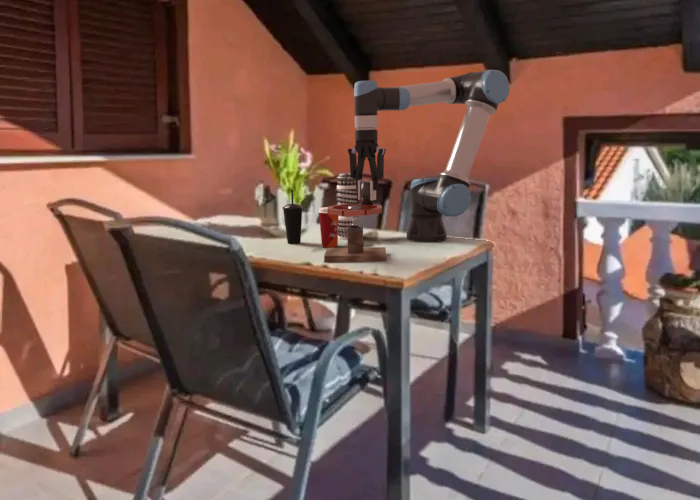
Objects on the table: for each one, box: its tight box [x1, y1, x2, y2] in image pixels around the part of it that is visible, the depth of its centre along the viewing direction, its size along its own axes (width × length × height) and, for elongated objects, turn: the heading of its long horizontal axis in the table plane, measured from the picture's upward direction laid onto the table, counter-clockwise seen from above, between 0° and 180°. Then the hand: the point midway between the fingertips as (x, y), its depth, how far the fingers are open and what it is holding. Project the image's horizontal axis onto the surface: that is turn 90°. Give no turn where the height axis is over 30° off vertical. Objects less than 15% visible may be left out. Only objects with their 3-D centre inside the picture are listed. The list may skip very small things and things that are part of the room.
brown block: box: [323, 225, 387, 263], centre depth 222 cm, size 20×14×10 cm
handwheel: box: [327, 181, 383, 228], centre depth 219 cm, size 18×18×15 cm
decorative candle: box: [334, 172, 360, 241], centre depth 259 cm, size 9×9×25 cm
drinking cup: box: [281, 189, 304, 245], centre depth 250 cm, size 8×8×20 cm
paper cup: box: [318, 206, 339, 249], centre depth 242 cm, size 8×8×14 cm
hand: (367, 199), depth 226 cm, fingers closed on handwheel, 4 cm apart
